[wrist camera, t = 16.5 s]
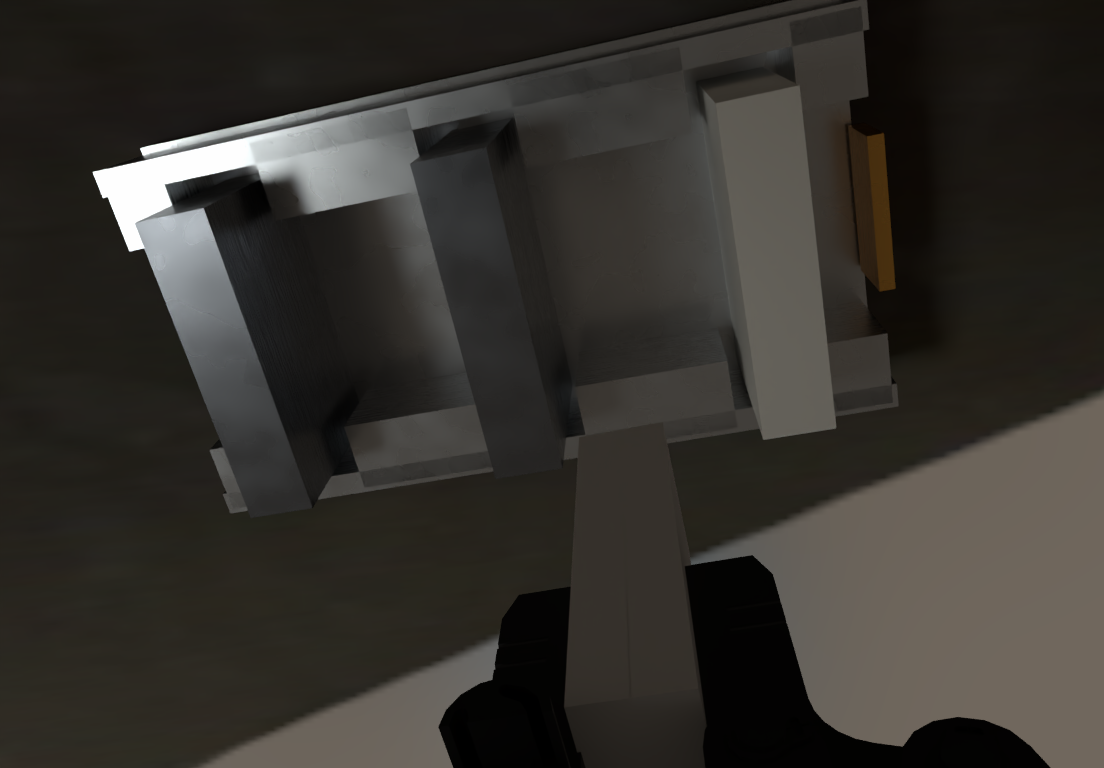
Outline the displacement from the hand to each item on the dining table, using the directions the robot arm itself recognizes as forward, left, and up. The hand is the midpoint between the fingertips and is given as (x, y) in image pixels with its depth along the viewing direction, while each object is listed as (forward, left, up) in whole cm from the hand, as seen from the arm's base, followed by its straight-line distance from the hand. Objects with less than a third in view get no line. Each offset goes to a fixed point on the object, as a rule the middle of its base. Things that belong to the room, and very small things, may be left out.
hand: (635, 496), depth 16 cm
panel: (+1, +5, -24) cm, 24 cm away
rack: (+1, -5, -25) cm, 25 cm away
